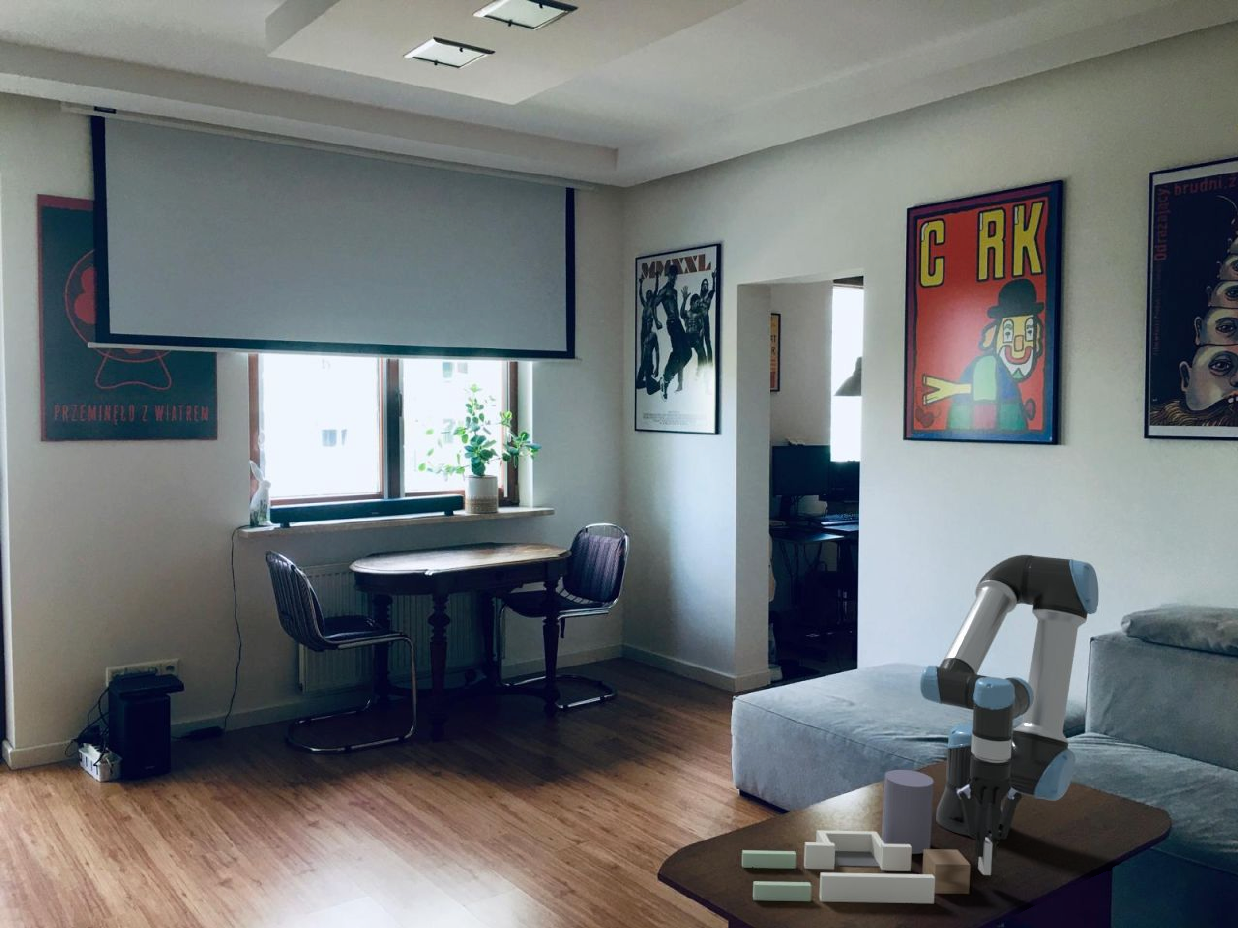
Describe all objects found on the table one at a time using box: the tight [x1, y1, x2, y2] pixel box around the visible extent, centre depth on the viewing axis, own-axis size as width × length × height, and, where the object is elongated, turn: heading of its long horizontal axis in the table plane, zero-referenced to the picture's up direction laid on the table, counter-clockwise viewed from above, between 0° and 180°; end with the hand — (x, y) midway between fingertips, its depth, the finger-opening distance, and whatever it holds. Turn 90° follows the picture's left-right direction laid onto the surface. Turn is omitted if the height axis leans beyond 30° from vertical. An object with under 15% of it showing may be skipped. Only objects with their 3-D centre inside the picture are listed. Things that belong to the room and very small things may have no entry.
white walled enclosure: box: [803, 829, 935, 904], centre depth 209 cm, size 22×24×5 cm
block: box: [921, 848, 971, 895], centre depth 205 cm, size 7×7×6 cm
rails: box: [741, 849, 813, 902], centre depth 204 cm, size 11×16×3 cm
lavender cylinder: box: [881, 769, 934, 855], centre depth 224 cm, size 10×10×15 cm
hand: (984, 871), depth 206 cm, fingers closed
